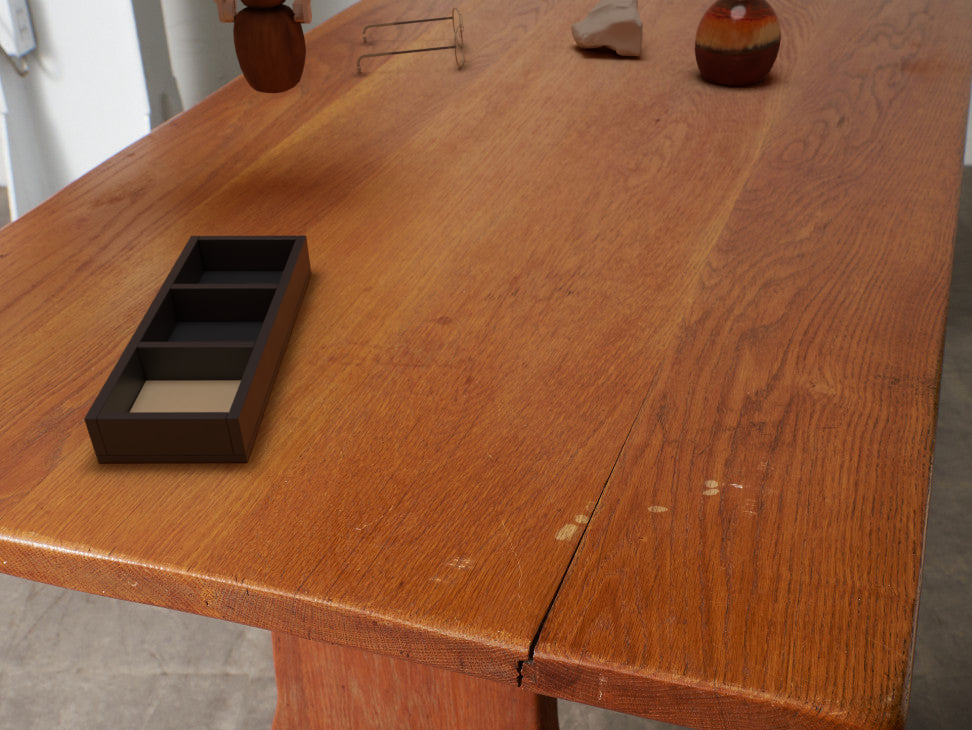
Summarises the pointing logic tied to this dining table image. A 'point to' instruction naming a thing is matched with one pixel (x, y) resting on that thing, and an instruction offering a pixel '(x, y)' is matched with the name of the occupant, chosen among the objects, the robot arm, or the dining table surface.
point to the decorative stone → (611, 27)
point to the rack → (203, 354)
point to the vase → (737, 42)
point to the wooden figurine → (269, 45)
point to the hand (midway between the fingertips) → (266, 21)
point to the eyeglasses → (417, 49)
